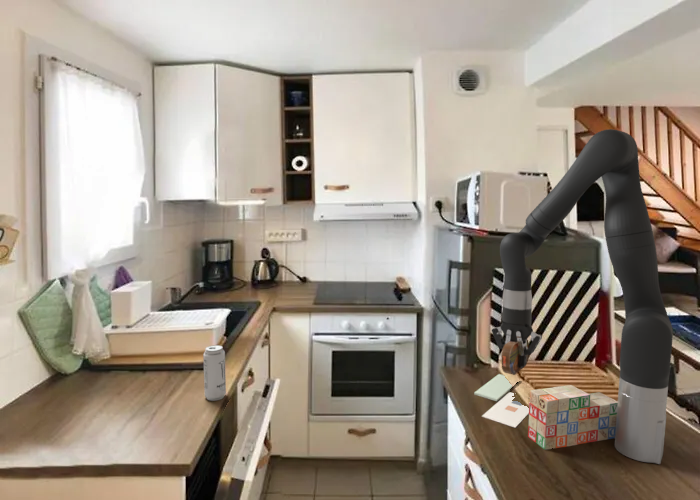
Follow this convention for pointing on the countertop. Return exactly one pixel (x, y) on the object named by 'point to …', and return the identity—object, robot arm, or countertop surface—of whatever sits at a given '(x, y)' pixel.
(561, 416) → the stack of blocks
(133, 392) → the countertop surface
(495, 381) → the pad
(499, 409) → the tile
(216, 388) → the energy drink can
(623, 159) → the robot arm
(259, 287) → the countertop surface
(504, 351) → the tin
